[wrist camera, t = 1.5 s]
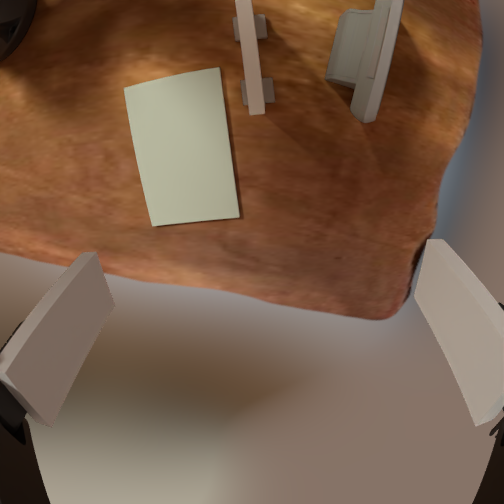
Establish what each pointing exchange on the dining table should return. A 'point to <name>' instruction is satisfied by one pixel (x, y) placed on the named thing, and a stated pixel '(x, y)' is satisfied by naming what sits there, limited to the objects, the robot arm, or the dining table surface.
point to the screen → (252, 57)
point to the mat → (183, 147)
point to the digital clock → (365, 54)
